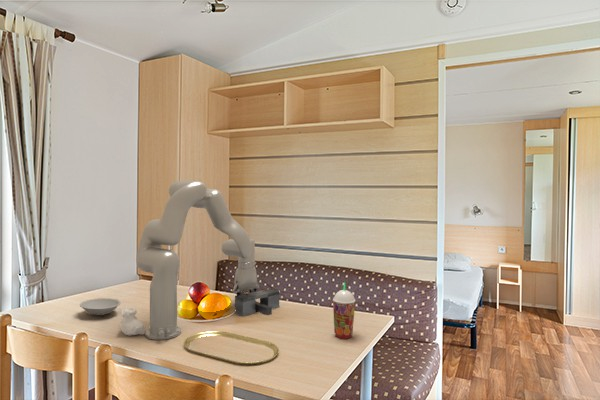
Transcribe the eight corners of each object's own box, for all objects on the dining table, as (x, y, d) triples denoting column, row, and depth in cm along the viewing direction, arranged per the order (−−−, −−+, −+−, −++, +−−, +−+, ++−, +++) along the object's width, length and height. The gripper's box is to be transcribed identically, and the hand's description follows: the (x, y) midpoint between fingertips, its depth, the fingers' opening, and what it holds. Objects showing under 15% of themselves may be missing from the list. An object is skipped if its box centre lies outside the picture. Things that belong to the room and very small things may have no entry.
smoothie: (328, 337, 151) (329, 283, 150) (337, 330, 158) (338, 279, 157) (350, 341, 147) (351, 286, 146) (357, 334, 154) (358, 281, 153)
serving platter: (208, 332, 156) (208, 327, 156) (288, 350, 139) (288, 346, 139) (171, 349, 139) (171, 344, 139) (258, 372, 123) (258, 367, 123)
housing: (279, 307, 187) (279, 290, 186) (242, 316, 173) (242, 298, 173) (271, 304, 191) (271, 288, 191) (234, 312, 178) (235, 295, 177)
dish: (129, 313, 174) (128, 302, 174) (97, 323, 162) (97, 311, 162) (102, 307, 183) (102, 296, 183) (71, 316, 171) (71, 304, 170)
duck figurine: (121, 336, 154) (104, 318, 148) (135, 320, 159) (119, 301, 153) (141, 343, 148) (124, 324, 142) (155, 326, 153) (139, 307, 147)
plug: (273, 313, 178) (273, 302, 177) (265, 315, 175) (265, 304, 174) (246, 303, 192) (246, 292, 192) (238, 304, 189) (238, 294, 189)
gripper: (256, 261, 197) (256, 299, 197) (226, 266, 185) (225, 306, 186) (265, 264, 191) (265, 302, 192) (235, 268, 180) (235, 310, 180)
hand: (246, 304), depth 189 cm, fingers closed on plug, 4 cm apart
